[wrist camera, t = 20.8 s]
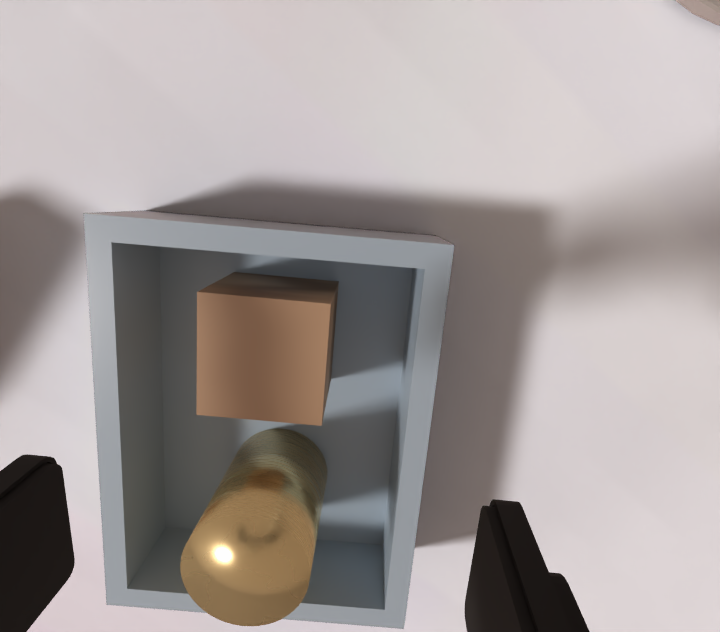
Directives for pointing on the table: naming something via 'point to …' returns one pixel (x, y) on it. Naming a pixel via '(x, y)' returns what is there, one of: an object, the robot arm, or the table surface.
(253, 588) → the brass cylinder
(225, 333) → the walnut cube
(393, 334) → the tote
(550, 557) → the table surface
